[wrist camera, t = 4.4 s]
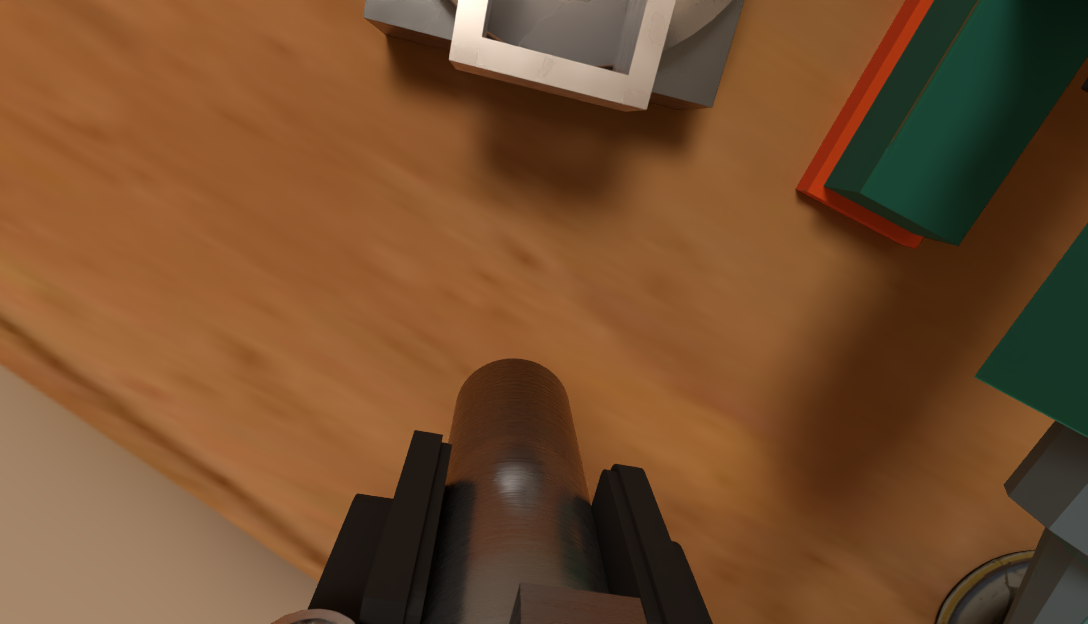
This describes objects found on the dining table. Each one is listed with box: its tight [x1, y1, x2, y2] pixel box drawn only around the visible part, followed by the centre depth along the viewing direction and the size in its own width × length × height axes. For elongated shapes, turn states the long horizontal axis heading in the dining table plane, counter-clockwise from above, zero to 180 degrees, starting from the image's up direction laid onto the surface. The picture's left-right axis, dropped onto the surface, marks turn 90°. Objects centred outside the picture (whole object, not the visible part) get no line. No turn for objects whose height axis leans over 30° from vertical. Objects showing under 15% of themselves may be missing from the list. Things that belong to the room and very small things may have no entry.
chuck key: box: [420, 359, 647, 624], centre depth 10 cm, size 3×6×10 cm, turn 167°
